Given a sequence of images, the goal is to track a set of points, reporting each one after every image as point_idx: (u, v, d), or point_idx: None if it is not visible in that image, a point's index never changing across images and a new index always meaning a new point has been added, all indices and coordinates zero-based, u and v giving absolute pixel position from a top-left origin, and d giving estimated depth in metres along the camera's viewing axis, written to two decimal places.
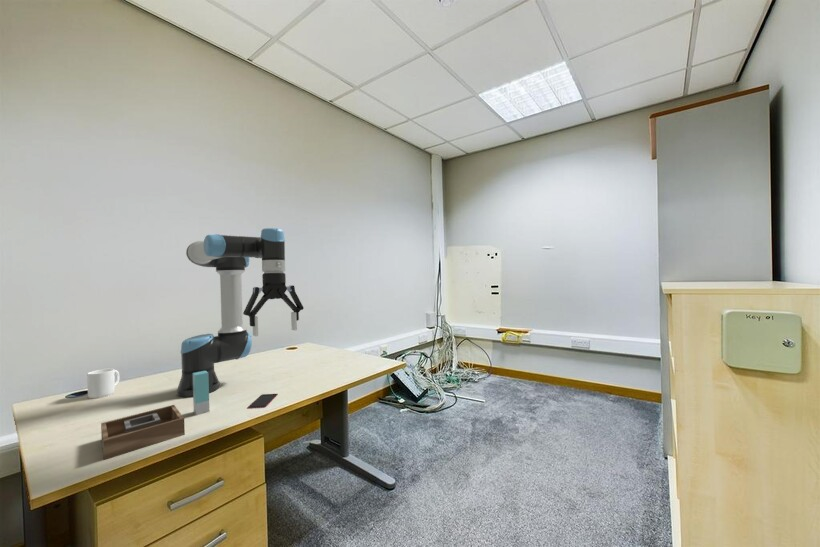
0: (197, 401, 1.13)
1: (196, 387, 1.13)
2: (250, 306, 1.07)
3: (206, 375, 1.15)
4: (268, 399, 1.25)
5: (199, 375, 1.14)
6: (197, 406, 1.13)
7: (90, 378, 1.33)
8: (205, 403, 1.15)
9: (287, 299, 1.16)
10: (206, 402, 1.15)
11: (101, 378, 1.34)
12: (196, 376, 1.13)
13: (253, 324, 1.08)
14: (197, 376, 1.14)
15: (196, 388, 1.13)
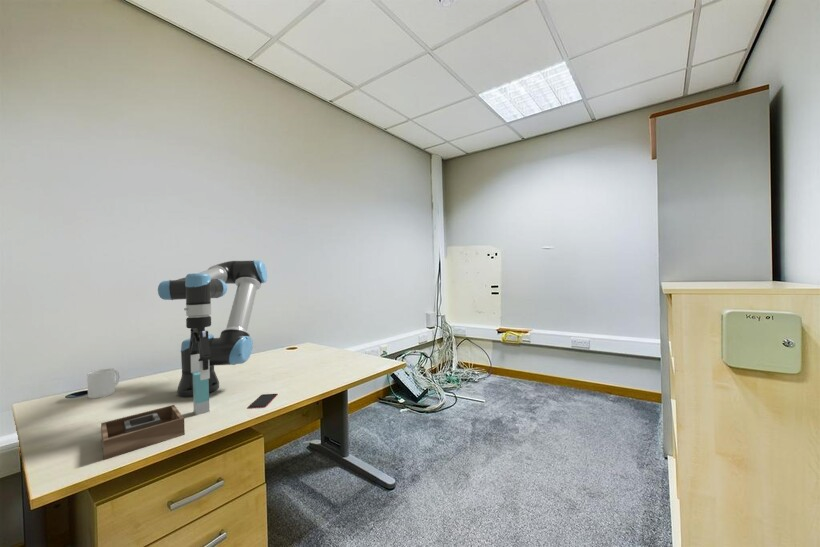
0: (197, 401, 1.13)
1: (196, 387, 1.13)
2: (189, 344, 1.21)
3: None
4: (268, 399, 1.25)
5: (199, 375, 1.14)
6: (197, 406, 1.13)
7: (90, 378, 1.33)
8: (205, 403, 1.15)
9: (198, 345, 1.12)
10: (206, 402, 1.15)
11: (101, 378, 1.34)
12: (196, 376, 1.13)
13: None
14: (197, 376, 1.14)
15: (196, 388, 1.13)
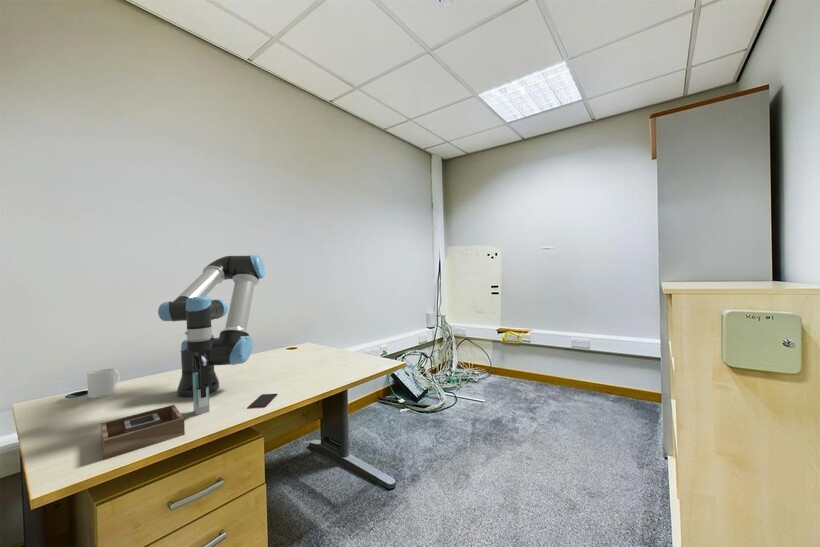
0: (197, 401, 1.13)
1: (196, 387, 1.13)
2: None
3: None
4: (268, 399, 1.25)
5: None
6: (197, 406, 1.13)
7: (90, 378, 1.33)
8: None
9: (197, 371, 1.14)
10: None
11: (101, 378, 1.34)
12: (196, 376, 1.13)
13: None
14: (197, 376, 1.14)
15: None
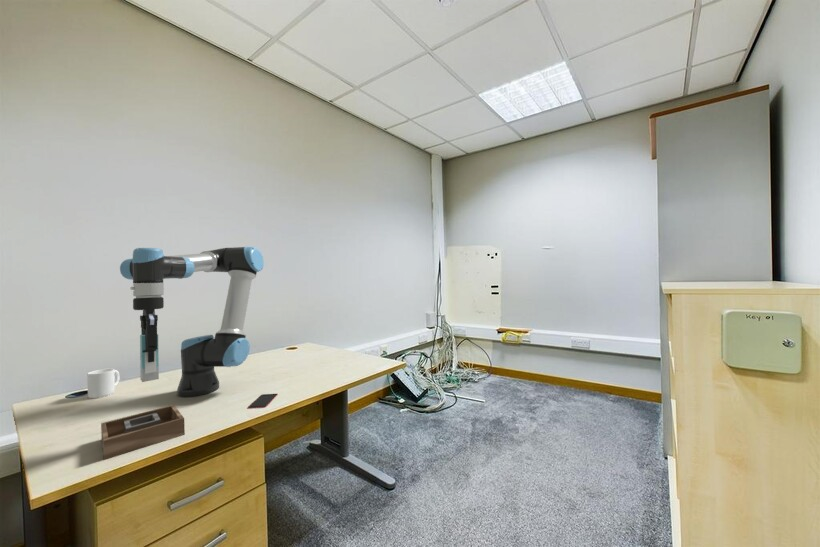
0: (143, 366, 0.99)
1: None
2: None
3: None
4: (268, 399, 1.25)
5: None
6: (143, 372, 0.99)
7: (90, 378, 1.33)
8: None
9: (145, 331, 0.99)
10: None
11: (101, 378, 1.34)
12: (143, 337, 0.99)
13: None
14: (144, 337, 0.99)
15: None
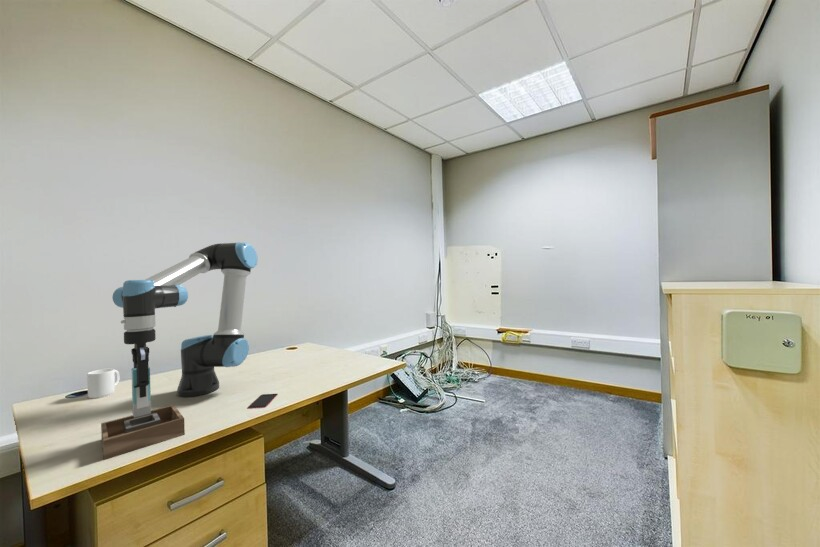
0: (135, 401, 0.97)
1: (134, 385, 0.97)
2: None
3: None
4: (268, 399, 1.25)
5: None
6: (135, 407, 0.97)
7: (90, 378, 1.33)
8: None
9: (136, 366, 0.97)
10: None
11: (101, 378, 1.34)
12: (134, 372, 0.97)
13: None
14: (135, 372, 0.97)
15: None
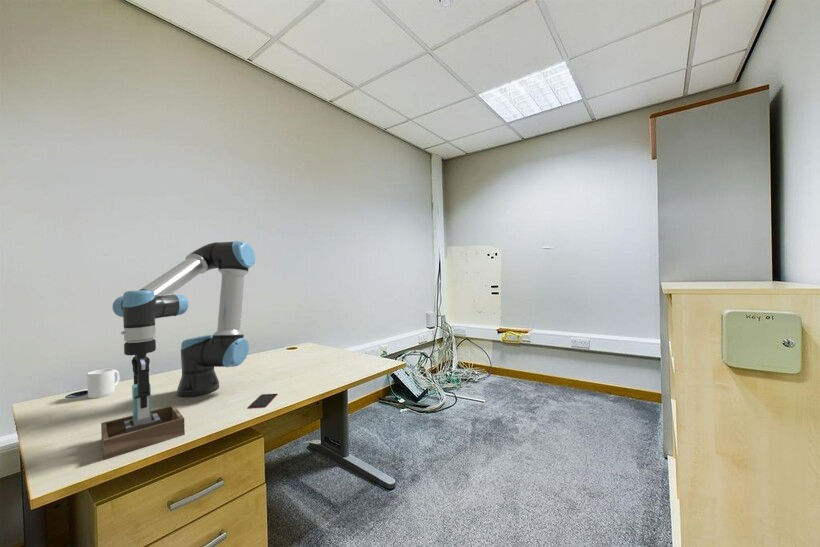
0: (136, 418, 0.97)
1: (135, 402, 0.97)
2: None
3: None
4: (268, 399, 1.25)
5: None
6: (136, 424, 0.97)
7: (90, 378, 1.33)
8: (146, 421, 0.99)
9: (136, 376, 0.97)
10: (148, 419, 0.99)
11: (101, 378, 1.34)
12: (135, 389, 0.97)
13: None
14: (136, 389, 0.97)
15: (135, 403, 0.97)
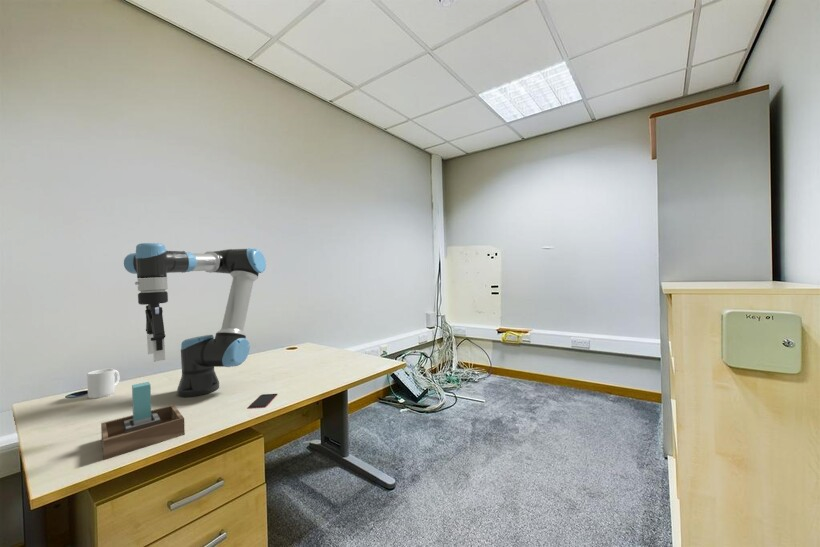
0: (136, 418, 0.97)
1: (135, 402, 0.97)
2: (146, 323, 1.09)
3: (147, 387, 0.99)
4: (268, 399, 1.25)
5: (138, 388, 0.98)
6: (136, 424, 0.97)
7: (90, 378, 1.33)
8: (146, 421, 0.99)
9: (151, 323, 1.00)
10: (148, 419, 0.99)
11: (101, 378, 1.34)
12: (135, 389, 0.97)
13: None
14: (136, 389, 0.97)
15: (135, 403, 0.97)
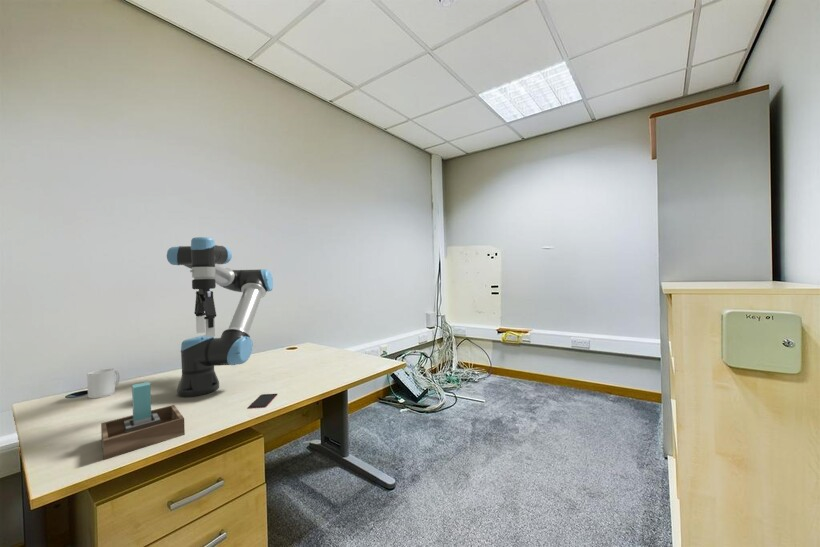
0: (136, 418, 0.97)
1: (135, 402, 0.97)
2: (195, 307, 1.27)
3: (147, 387, 0.99)
4: (268, 399, 1.25)
5: (138, 388, 0.98)
6: (136, 424, 0.97)
7: (90, 378, 1.33)
8: (146, 421, 0.99)
9: (203, 305, 1.18)
10: (148, 419, 0.99)
11: (101, 378, 1.34)
12: (135, 389, 0.97)
13: None
14: (136, 389, 0.97)
15: (135, 403, 0.97)
